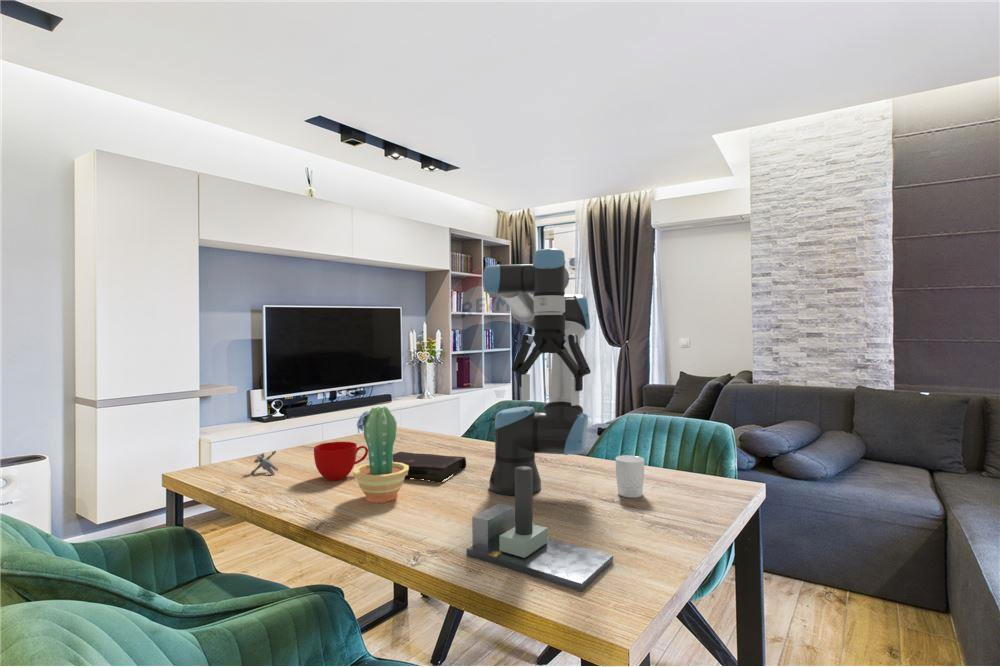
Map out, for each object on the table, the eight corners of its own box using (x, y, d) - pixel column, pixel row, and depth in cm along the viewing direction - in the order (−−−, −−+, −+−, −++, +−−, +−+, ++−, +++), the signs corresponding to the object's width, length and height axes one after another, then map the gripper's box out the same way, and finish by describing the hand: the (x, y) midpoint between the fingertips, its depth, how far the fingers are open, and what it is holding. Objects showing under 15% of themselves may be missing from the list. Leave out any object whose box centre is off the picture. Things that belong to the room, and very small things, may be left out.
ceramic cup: (375, 476, 164) (374, 445, 164) (320, 486, 155) (320, 452, 155) (361, 468, 175) (360, 438, 175) (309, 476, 165) (309, 445, 165)
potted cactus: (383, 485, 155) (383, 401, 155) (421, 494, 146) (420, 406, 146) (340, 499, 142) (340, 408, 142) (379, 510, 133) (378, 413, 133)
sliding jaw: (499, 550, 105) (499, 471, 105) (523, 535, 112) (523, 461, 112) (524, 557, 101) (524, 476, 101) (547, 542, 109) (547, 466, 109)
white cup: (645, 499, 141) (645, 462, 141) (615, 497, 143) (615, 461, 143) (643, 490, 149) (643, 455, 149) (615, 489, 150) (615, 454, 150)
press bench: (466, 555, 106) (466, 519, 106) (505, 533, 118) (504, 500, 118) (581, 592, 92) (581, 549, 91) (613, 562, 103) (612, 524, 103)
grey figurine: (257, 479, 163) (242, 465, 167) (266, 488, 167) (251, 474, 172) (283, 455, 168) (267, 442, 172) (291, 465, 172) (275, 452, 177)
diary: (400, 464, 182) (400, 450, 182) (466, 470, 174) (466, 455, 174) (370, 477, 165) (370, 462, 165) (442, 485, 157) (442, 468, 157)
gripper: (497, 315, 129) (498, 400, 129) (590, 312, 114) (590, 409, 114) (514, 315, 135) (515, 397, 135) (604, 313, 120) (604, 404, 121)
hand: (549, 402), depth 125 cm, fingers open, 13 cm apart
